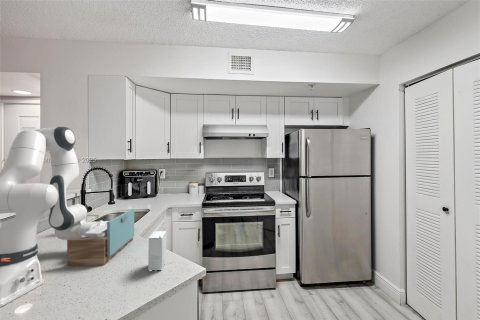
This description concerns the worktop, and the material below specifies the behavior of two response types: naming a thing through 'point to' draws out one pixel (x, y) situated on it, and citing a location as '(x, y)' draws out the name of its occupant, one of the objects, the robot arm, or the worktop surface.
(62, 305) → the worktop surface
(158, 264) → the skincare box
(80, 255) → the box
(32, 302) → the worktop surface
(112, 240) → the tailgate
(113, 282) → the worktop surface
